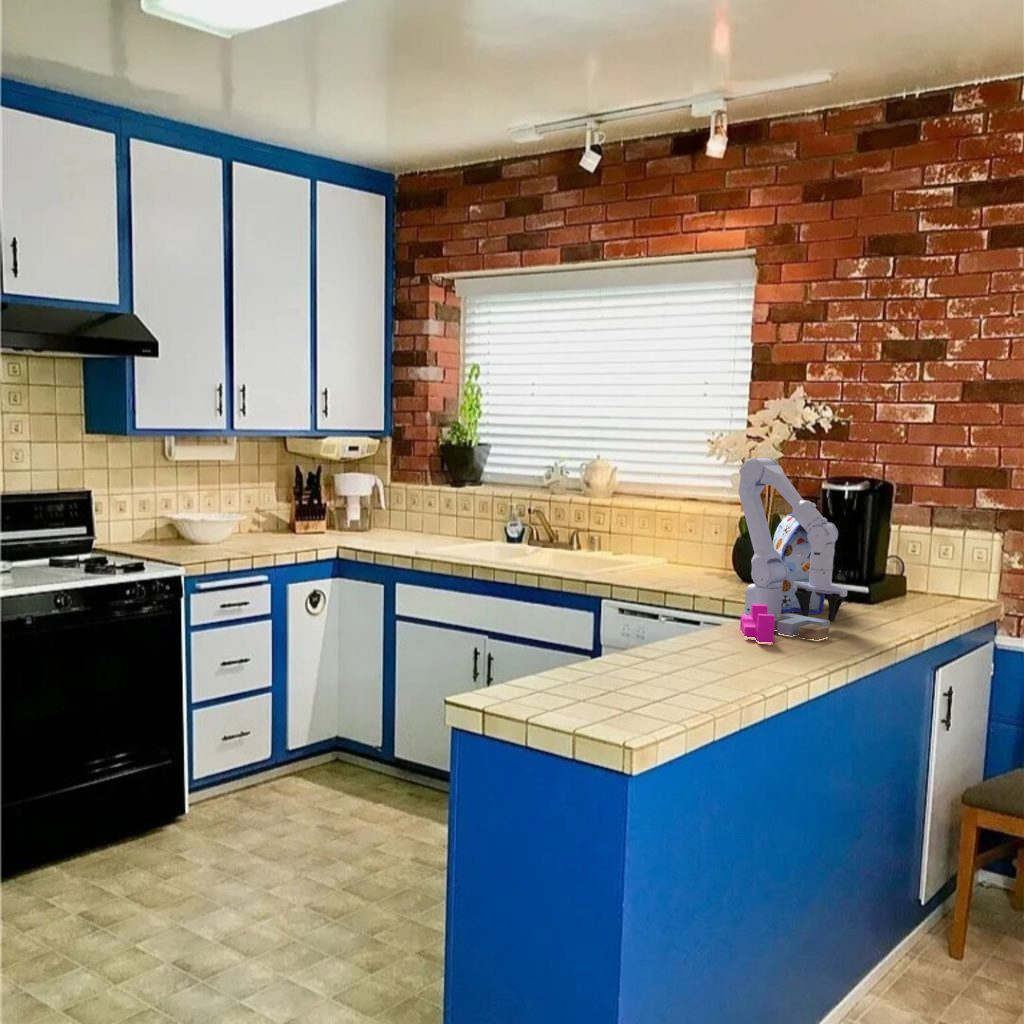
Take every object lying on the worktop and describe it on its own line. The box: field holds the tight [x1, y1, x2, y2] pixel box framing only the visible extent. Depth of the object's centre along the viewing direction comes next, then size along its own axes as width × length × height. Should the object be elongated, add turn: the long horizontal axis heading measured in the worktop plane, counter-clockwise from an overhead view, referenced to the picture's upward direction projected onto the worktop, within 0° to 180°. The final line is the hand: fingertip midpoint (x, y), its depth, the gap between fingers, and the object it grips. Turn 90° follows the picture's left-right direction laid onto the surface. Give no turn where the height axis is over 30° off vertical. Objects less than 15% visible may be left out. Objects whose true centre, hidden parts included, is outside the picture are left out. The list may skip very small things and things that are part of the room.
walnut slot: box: [774, 617, 830, 640], centre depth 265 cm, size 18×6×3 cm, turn 45°
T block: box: [776, 612, 831, 636], centre depth 266 cm, size 12×12×4 cm
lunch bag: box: [772, 512, 835, 615], centre depth 302 cm, size 23×17×27 cm
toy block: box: [739, 604, 775, 643], centre depth 259 cm, size 15×6×8 cm, turn 174°
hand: (818, 619), depth 274 cm, fingers open, 7 cm apart
